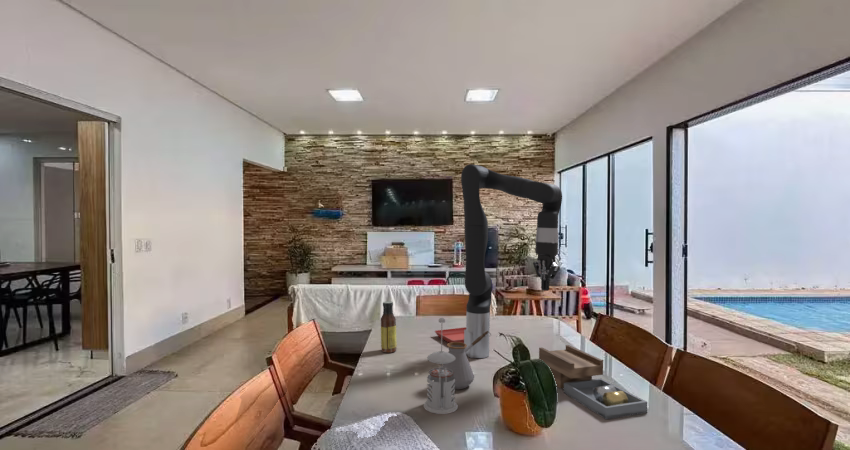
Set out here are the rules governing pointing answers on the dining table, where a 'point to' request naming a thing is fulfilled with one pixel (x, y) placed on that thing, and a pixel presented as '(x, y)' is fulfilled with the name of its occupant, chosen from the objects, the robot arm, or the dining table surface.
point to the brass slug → (615, 398)
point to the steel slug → (602, 391)
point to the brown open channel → (571, 365)
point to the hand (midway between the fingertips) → (545, 290)
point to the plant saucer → (452, 335)
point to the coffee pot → (461, 363)
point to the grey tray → (585, 396)
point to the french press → (441, 383)
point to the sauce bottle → (388, 328)
